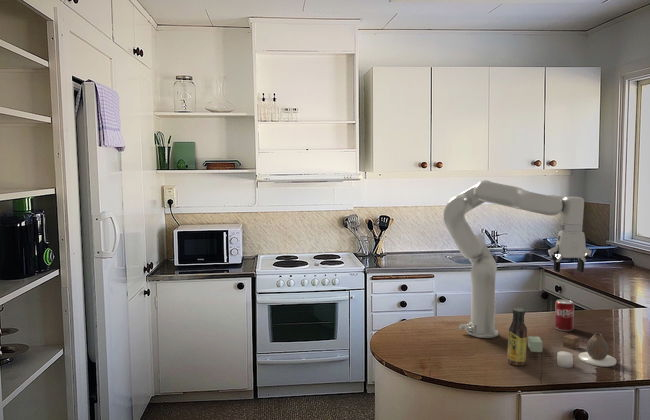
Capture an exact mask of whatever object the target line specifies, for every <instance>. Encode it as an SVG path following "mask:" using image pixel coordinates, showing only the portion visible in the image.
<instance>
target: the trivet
mask: <svg viewBox="0 0 650 420" xmlns="http://www.w3.org/2000/svg"><path fill="white" fill-rule="evenodd" d="M578 359H579V360H580V361H581V362H583V363H584V364H585V363H586V364H588V365H592V366H595V367H602V368H603V367H605V368H607V367H608V368H609V367H613V366H616V365H617V359H616V358H614V357H613V356H611V355H609V354H607V356H606V357H605V358H604V359H602V360H597V359H593V358H591V357H590V356H589V354H588V352H587V351H584V352H581V353H579V354H578Z"/></svg>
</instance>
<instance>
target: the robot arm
mask: <svg viewBox="0 0 650 420" xmlns="http://www.w3.org/2000/svg"><path fill="white" fill-rule="evenodd" d="M484 203H489V204H494V205H498V206H503V207H509V208H513V209H516V210H522V211H527V212H530V213H535V214H540V215H545V216H548V217H549V216H550V217H553V216H558V215H559V214H561V217H560V218H561V219H560V225H557V228H558V230H559V231H558V234H557V238H556V241H555V242H556V243H555V246H554V247H551V248H550V249H548V250H547V252H548V254H549V257H550V258H551V260H552V261H553V271H554V272H556V273H560V272H561V262H560V261H561V260H562V259H578V261H577V262H576V263H577V265H576V266H577V267H576V271H577V272H581V273H584V270H585V263H586V262H587V260H588V259H589V258H590V255H591V254H592V250H591V249H589V248H587V247H586V235H585V232H583V223H584V222H583V221H584V208H585V198H583V197H582V196H581V197H580V196H570V195H569V196H561V195H555V194H548V195H547V194H542V193H536V192H533V191H529V190H525V189H523V188H522V187H518V186H514V185H508V184H503V183H498V182H494V181H491V180H487V179H485V180H480V181H479V182H477V184H474V185H473V186H471V187H470V188H468V189H466V190H465V191H463V192H461V193H459V194H457V195H454V196H453V197H451V198H450V199H449V201H448V202H447V203H446V206H445V208H444V210H443V221H444V224H445V227H446V229H447V230H448V232H449V234H450V235H451V238H452V240H453V242H454V244H455V245H456V247H457V249H458V250H459V252H460V254H461V255H462V256H463V257H464V258H465V259H468V260H469V262H470V264H471V266H472V267H471V270H470V280H471V281H470V283H471V284H470V285H471V287H470V288H471V289H470V292H471V295H470V296H471V297H470V321H468V323H466V324H465V323H464V324H459V329H460V330H465V331H466V333H467V334H468V335H469V336H472V337H476V338H479V339H480V338H481V339H493V338H496V337H498V336H499V331H498V330H497V329H495V325H496V323H495V321H496V319H495V318H496V315H495V314H496V274H497V269H498V265H497V262H496V260H495V258H494V257H493V255H492V253H491V250H489V248H488V247H487V244H486V243H485V241H484V239H482V237H480V236H479V235H478V234H476V233H474V232H473V230H472V228H471V226H470V223H468V221H467V220H466V217H465V216H466V214H467V213H468V212H470V211H472V210H473V209H475V208H477V207H480V206H481V205H482V204H484ZM554 253H555V254H554Z"/></svg>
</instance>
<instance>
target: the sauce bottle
mask: <svg viewBox="0 0 650 420" xmlns="http://www.w3.org/2000/svg"><path fill="white" fill-rule="evenodd" d="M525 314H526V310H525V309H524V308H521V307H515V308H513V309H512V322H511V324H510V326H509V328H508V333H507V335H508V338H507V357H506V358H507V362H508V363H509V364H511V365H513V366H524V365H526V361H527V360H526V359H527V346H528V328H527V326H526V324H525Z"/></svg>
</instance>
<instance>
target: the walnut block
mask: <svg viewBox="0 0 650 420" xmlns="http://www.w3.org/2000/svg"><path fill="white" fill-rule="evenodd" d="M562 339H563V340H562V346H563V347H564V348H568V349H570V350H574V349H578V348H580V337H579V336H576V335H573V334H567V335H563V337H562Z"/></svg>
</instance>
